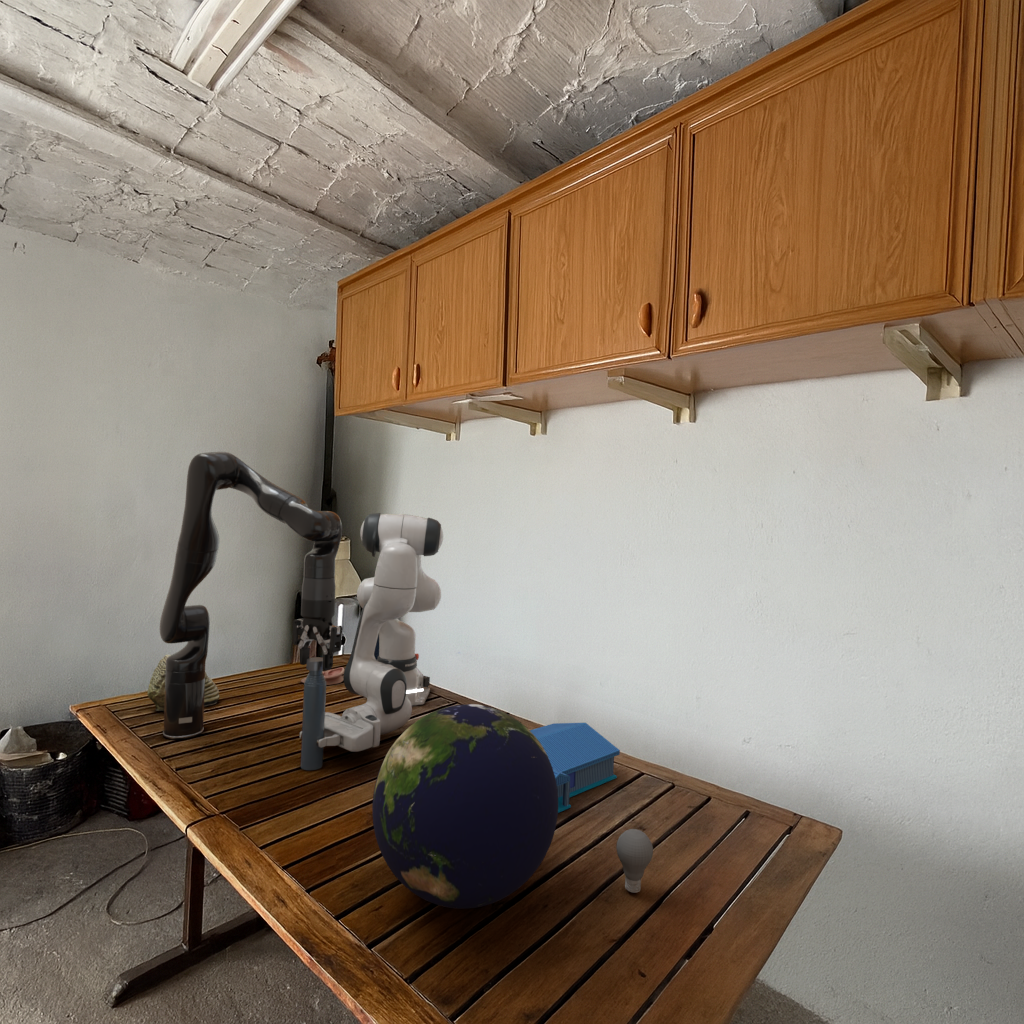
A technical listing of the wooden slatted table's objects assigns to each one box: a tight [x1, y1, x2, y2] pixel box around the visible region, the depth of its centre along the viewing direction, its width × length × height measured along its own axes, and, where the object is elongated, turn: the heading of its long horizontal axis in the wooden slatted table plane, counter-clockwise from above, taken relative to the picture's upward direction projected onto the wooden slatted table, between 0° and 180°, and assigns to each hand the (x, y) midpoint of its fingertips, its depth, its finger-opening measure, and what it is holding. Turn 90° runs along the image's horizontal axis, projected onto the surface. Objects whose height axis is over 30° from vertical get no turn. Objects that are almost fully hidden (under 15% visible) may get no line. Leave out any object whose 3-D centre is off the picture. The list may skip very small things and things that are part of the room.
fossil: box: [147, 654, 221, 712], centre depth 185 cm, size 9×18×15 cm, turn 132°
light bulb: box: [615, 828, 654, 894], centre depth 106 cm, size 6×6×10 cm
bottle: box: [300, 670, 327, 771], centre depth 148 cm, size 5×5×24 cm
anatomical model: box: [300, 666, 345, 686], centre depth 215 cm, size 13×4×12 cm
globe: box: [371, 703, 559, 910], centre depth 103 cm, size 30×30×30 cm
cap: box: [305, 656, 324, 671], centre depth 148 cm, size 4×4×2 cm
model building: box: [529, 722, 621, 814], centre depth 143 cm, size 39×24×10 cm, turn 132°
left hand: (315, 666), depth 148 cm, fingers open, 7 cm apart
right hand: (309, 739), depth 148 cm, fingers closed on bottle, 5 cm apart
